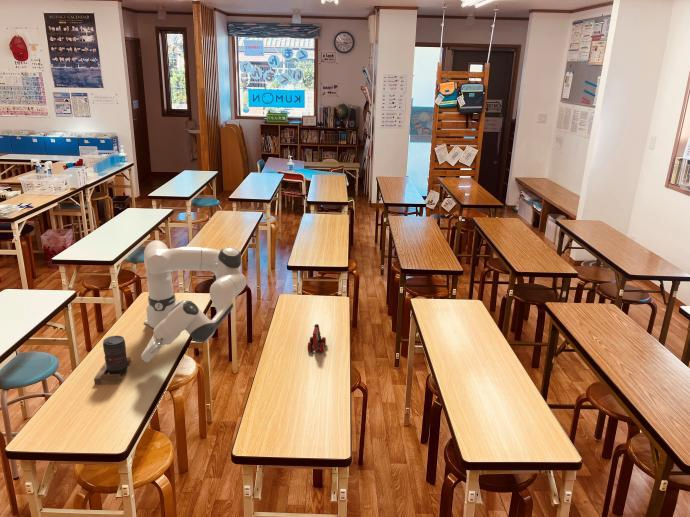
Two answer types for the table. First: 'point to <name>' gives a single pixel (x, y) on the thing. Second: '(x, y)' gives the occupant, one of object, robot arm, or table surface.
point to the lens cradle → (108, 375)
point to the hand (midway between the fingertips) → (143, 355)
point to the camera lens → (115, 355)
